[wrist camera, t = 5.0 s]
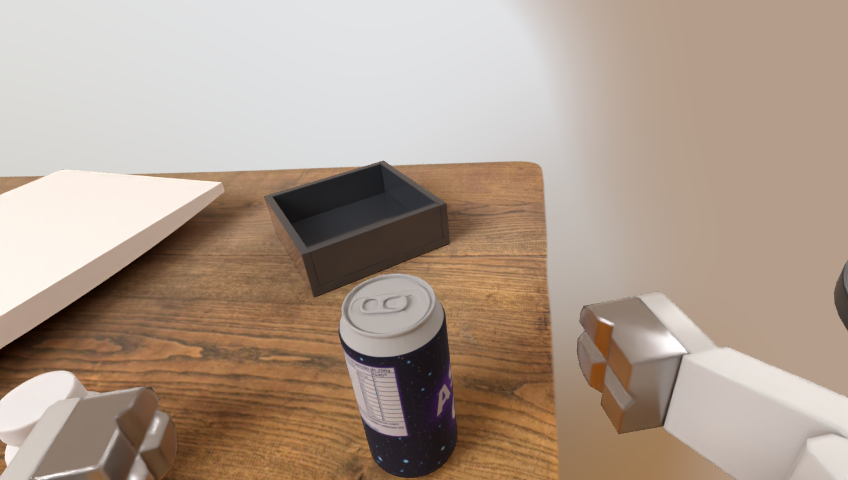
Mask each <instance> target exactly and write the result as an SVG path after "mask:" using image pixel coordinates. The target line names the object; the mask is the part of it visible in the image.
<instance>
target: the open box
mask: <svg viewBox="0 0 848 480" xmlns="http://www.w3.org/2000/svg"><path fill="white" fill-rule="evenodd" d="M264 198H265V201H266V204H267V207H268V210H269V213H270V216H271V220H272V223H273V226H274V229H275V232H276V234H277V236H278V237H279V239H280V241H281V242H282V244H283V246H284V247H285V249H286V251H287V252H288V254H289V256H290V258H291V259H292V261H293V263H294V264H295V266H296V268H297V269H298V271H299V273H300V274H301V276H302V278H303V280H304V281H305V283H306V285H307V286H308V288H309V290H310V291H311V293H312V295H313V297H316V296H318V295H321V294H323V293H326V292H328V291H331V290H333V289H336V288H338V287H341V286H343V285H346V284H349V283H351V282H354V281H356V280H359V279H361V278H364V277H366V276H369V275H371V274H374V273H376V272H379V271H381V270H384V269H386V268H389V267H391V266H394V265H396V264H399V263H401V262H404V261H406V260H409V259H411V258H414V257H416V256H419V255H421V254H424V253H426V252H429V251H432V250H434V249H437V248H439V247H442V246H444V245H447V244H449V243H450V239H449V228H448V216H447V205H446V202H444V201H443V200H441V199H440V198H438V197H437V196H435V195H434V194H432V193H431V192H429V191H428V190H426V189H425V188H423V187H422V186H420V185H419V184H417V183H416V182H414V181H413V180H411V179H410V178H408V177H407V176H406V175H404V174H403V173H401V172H400V171H398V170H397V169H395V168H394V167H392V166H391V165H389V164H388V163H386V162H385V161H381V162H378V163H374V164H371V165H368V166H364V167H361V168H357V169H354V170H351V171H347V172H344V173H341V174H337V175H334V176H331V177H327V178H324V179H321V180H317V181H314V182H311V183H307V184H304V185H301V186H297V187H294V188H291V189H287V190H284V191H281V192H277V193H274V194H270V195H267V196H264Z"/></svg>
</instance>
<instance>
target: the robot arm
mask: <svg viewBox="0 0 848 480" xmlns="http://www.w3.org/2000/svg"><path fill="white" fill-rule="evenodd" d="M580 323H581V325H582V326H583V328H584V329H585V331H584V332H583V333H582V334H581V335H580V337H579V338H578V342H577V354H578V359H579V364H580V367H581V370H582V372H583V375H584V377H585V378H586V380H587V382H588V384H589V385H590V386H591V387H593V388H594V389H596V390H598V391H600V392H601V393H602V399H601V406H602V407H603V409H604V410H605V412H606V414H607V416H608V417H609V419H610V420H611V422H612V424H613V425H614V427H615V429H616V430H617V432H618V434H621V433H628V432H633V431H639V430H644V429H650V428H655V427H661V426H664V427H663V429H664V430H666V431H667V432H669V433H670V434H672V435H673V436H674V437H676V438H677V439H679V440H680V441H681V442H683V443H684V444H686V445H687V446H689V447H690V448H691V449H693V450H694V451H696V452H697V453H699V454H700V455H701V456H703V457H704V458H706V459H707V460H708V461H710V462H711V463H713V464H714V465H716V466H717V467H718V468H720V469H721V470H723V471H724V472H725V473H727V474H728V475H730V476H731V477H733V478H734V479H735V480H848V397H846V396H844V395H842V394H839V393H837V392H834V391H832V390H830V389H827V388H825V387H822V386H820V385H817V384H815V383H813V382H811V381H808V380H806V379H803V378H801V377H799V376H796V375H793V374H791V373H789V372H786V371H784V370H781V369H779V368H777V367H774V366H772V365H770V364H767V363H765V362H763V361H760V360H758V359H756V358H753V357H751V356H748V355H746V354H743V353H741V352H739V351H736V350H734V349H732V348H729V347H724V348H719V347H718V346H717V345H716V344H715V343H714V342H713V341H712V340H711V339H710V338H709V337H708V336H707V335H706V334H705V333H704V332H703V331H702V330H701V329H700V328H698V326H697V325H696V324H695V323H694V322H693V321H692V320H690V318H689V317H687V315H685V313H684V312H682V311H681V310H680V309H679V308H678V307H677V306H676V305H675V304H674V303H673V302H672V301H671V300H670V299H669V298H668V297H667V296H666V295H665V294H663V293H661V292H659V291H657V292H653V293H647V294H642V295H637V296H633V297H628V298H623V299H617V300H612V301H607V302H602V303H597V304H591V305H586V306H584V307H583V309H582V310H581V313H580ZM159 401H160V399H159V397H158V396H157V394H156V393H155V391H154V390H153V389H152V387H138V388H131V389H125V390H119V391H113V392H106V393H100V394H94V395H87V396H86V397H79V398H73V399H66V400H59V401H57V402H55V403H54V404H52V405H51V406H49V407H48V408H47V409H46V411H45V412H44V414H43V415H42V416H41V418H40V419H39V421H38V422H37V424H36V425H35V427H34V428H33V430H32V431H31V433H30V434H29V436H28V437H27V438H26V440H25V441H24V443H23V444H22V446H21V447H20V449H19V450H18V452H17V453H16V455H15V456H14V457H13V459H12V460H11V462H10V463H9V465H8V466H7V468H6V469H5V471H4V472H3V474H2V475H1V477H0V480H161V479H162V478H163V477H164V476H165V475H166V474H167V473H168V472H169V471H170V470H171V469H172V467H173V463H174V460H175V457H176V454H177V439H178V436H177V432H176V428H175V424H174V423H173V421H172V419H171V417H170V416H169V415H167V414H165V413H163V412H161V411H159V410H157V409H156V408H157V406H158V403H159Z"/></svg>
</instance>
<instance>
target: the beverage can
mask: <svg viewBox="0 0 848 480" xmlns="http://www.w3.org/2000/svg"><path fill="white" fill-rule="evenodd" d="M341 312H342V318H341V321H340V324H339V337H340V340H341V344H342V348H343V352H344V355H345V359H346V363H347V366H348V370H349V374H350V377H351V381H352V385H353V388H354V392H355V396H356V400H357V403H358V407H359V411H360V414H361V418H362V422H363V425H364V429H365V433H366V437H367V440H368V444H369V448H370V451H371V454H372V457H373V458H374V460H375V462H376V463H377V464H378V465H379V466H380V467H381V468H382V469H383V470H385V471H386V472H388V473H390V474H392V475H395V476H398V477H404V478H415V477H420V476H424V475H427V474H430V473H432V472H434V471H435V470H437V469H438V468H440V467H441V466H442V465H443V464H444V463H445V462H446V461H447V460H448V459H449V458H450V456H451V455H452V453H453V451H454V449H455V446H456V442H457V425H456V415H455V406H454V396H453V386H452V376H451V366H450V356H449V346H448V336H447V326H446V317H445V311H444V308H443V306H442V305H441V303H440V302H439V301H438V299H437V298H436V295H435V292H434V290H433V288H432V287H431V286H430V285H429V284H428V283H427V282H426V281H424V280H423V279H421V278H418V277H416V276H412V275H408V274H386V275H381V276H377V277H374V278H371V279H369V280H366V281H364V282H362V283H361V284H359V285H358V286H356V287H355V288H354V289H353V290H352V291H351V292H350V293H349V294H348V295H347V296H346V298H345V300H344V302H343V304H342V310H341Z"/></svg>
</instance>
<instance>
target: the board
mask: <svg viewBox="0 0 848 480" xmlns="http://www.w3.org/2000/svg"><path fill="white" fill-rule="evenodd" d="M224 191H225V190H224V188H223V185H222V182H209V181H197V180H185V179H173V178H161V177H149V176H137V175H125V174H113V173H101V172H89V171H76V170H64V169H62V170H59V171H57V172H55V173H52V174H50V175H47V176H45V177H42V178H40V179H38V180H35V181H33V182H30V183H28V184H25V185H23V186H21V187H18V188H16V189H13V190H11V191H9V192H6V193H4V194H1V195H0V349H1V348H2V347H4V346H6V345H7V344H9V343H10V342H12V341H14V340H15V339H17V338H18V337H20V336H21V335H23V334H25V333H26V332H28V331H29V330H31V329H32V328H34V327H36V326H37V325H39V324H40V323H42V322H43V321H45V320H46V319H48V318H49V317H51V316H53V315H54V314H56V313H57V312H59V311H60V310H62V309H63V308H65V307H66V306H68V305H69V304H71V303H72V302H74V301H75V300H77V299H78V298H80V297H81V296H83V295H84V294H86V293H87V292H89V291H90V290H92V289H93V288H95V287H96V286H98V285H99V284H101V283H102V282H104V281H105V280H107V279H108V278H109V277H111V276H112V275H114V274H115V273H117V272H118V271H120V270H121V269H122V268H124V267H125V266H127V265H128V264H130V263H131V262H132V261H134V260H135V259H137V258H138V257H139V256H141V255H142V254H144V253H145V252H146V251H148V250H149V249H151V248H152V247H153V246H155V245H156V244H157V243H159V242H160V241H162V240H163V239H164V238H166V237H167V236H168V235H170V234H171V233H172V232H174V231H175V230H176V229H178V228H179V227H180V226H182V225H183V224H184V223H185V222H187V221H188V220H189V219H191V218H192V217H193V216H195V215H196V214H197V213H198V212H200V211H201V210H202V209H203V208H205V207H206V206H207V205H208V204H210V203H211V202H212V201H213V200H215V199H216V198H217V197H218V196H220V195H221V194H222V193H223V192H224Z"/></svg>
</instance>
